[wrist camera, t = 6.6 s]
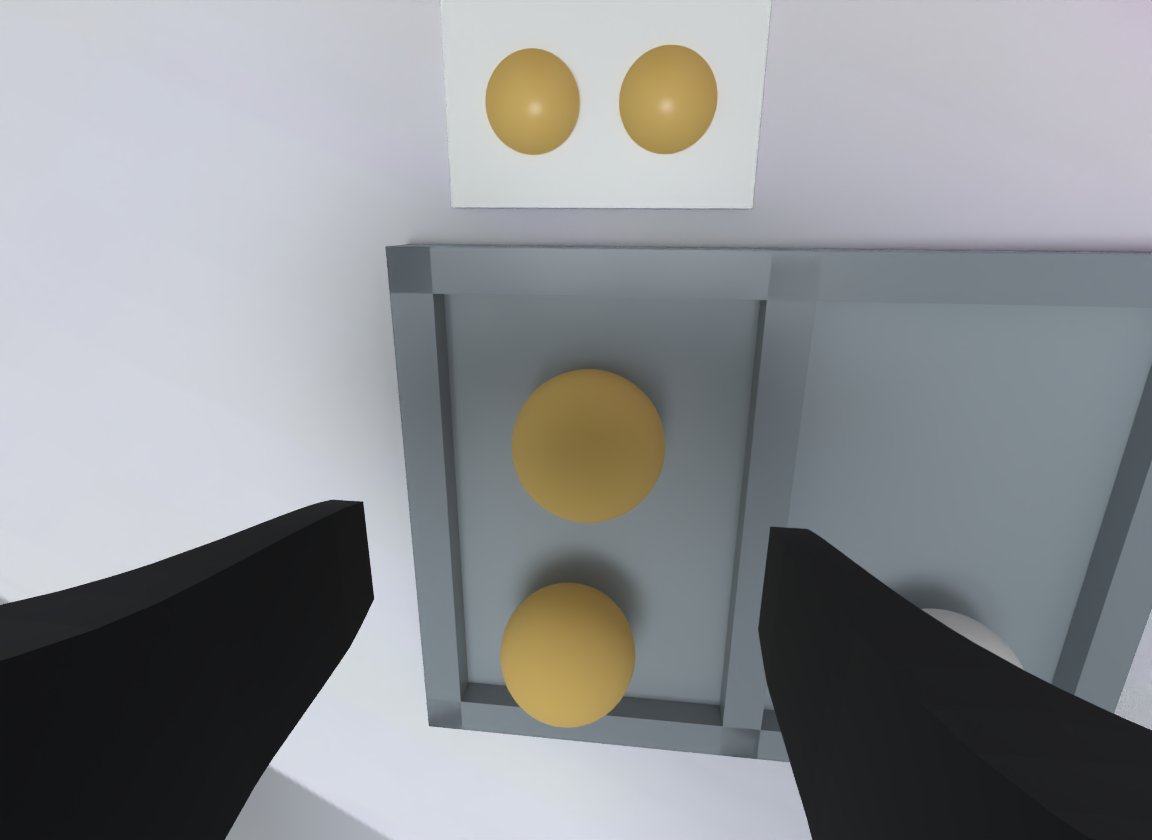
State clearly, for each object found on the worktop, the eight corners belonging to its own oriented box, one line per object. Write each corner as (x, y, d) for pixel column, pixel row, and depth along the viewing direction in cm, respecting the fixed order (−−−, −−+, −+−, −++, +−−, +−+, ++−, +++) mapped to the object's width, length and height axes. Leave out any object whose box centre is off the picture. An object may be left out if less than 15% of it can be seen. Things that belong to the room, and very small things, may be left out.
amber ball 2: (634, 666, 20) (630, 768, 16) (517, 656, 21) (487, 753, 17) (639, 562, 19) (636, 646, 15) (514, 553, 19) (481, 633, 16)
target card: (750, 208, 16) (753, 208, 15) (454, 207, 17) (449, 207, 16) (771, -15, 14) (775, -23, 14) (443, -4, 15) (436, -11, 15)
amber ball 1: (659, 487, 18) (663, 557, 14) (528, 481, 18) (498, 547, 15) (666, 356, 17) (673, 395, 13) (525, 352, 17) (492, 388, 13)
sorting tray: (1056, 754, 20) (1085, 791, 19) (442, 696, 22) (428, 726, 21) (1222, 253, 15) (1278, 256, 14) (405, 244, 17) (385, 246, 16)
